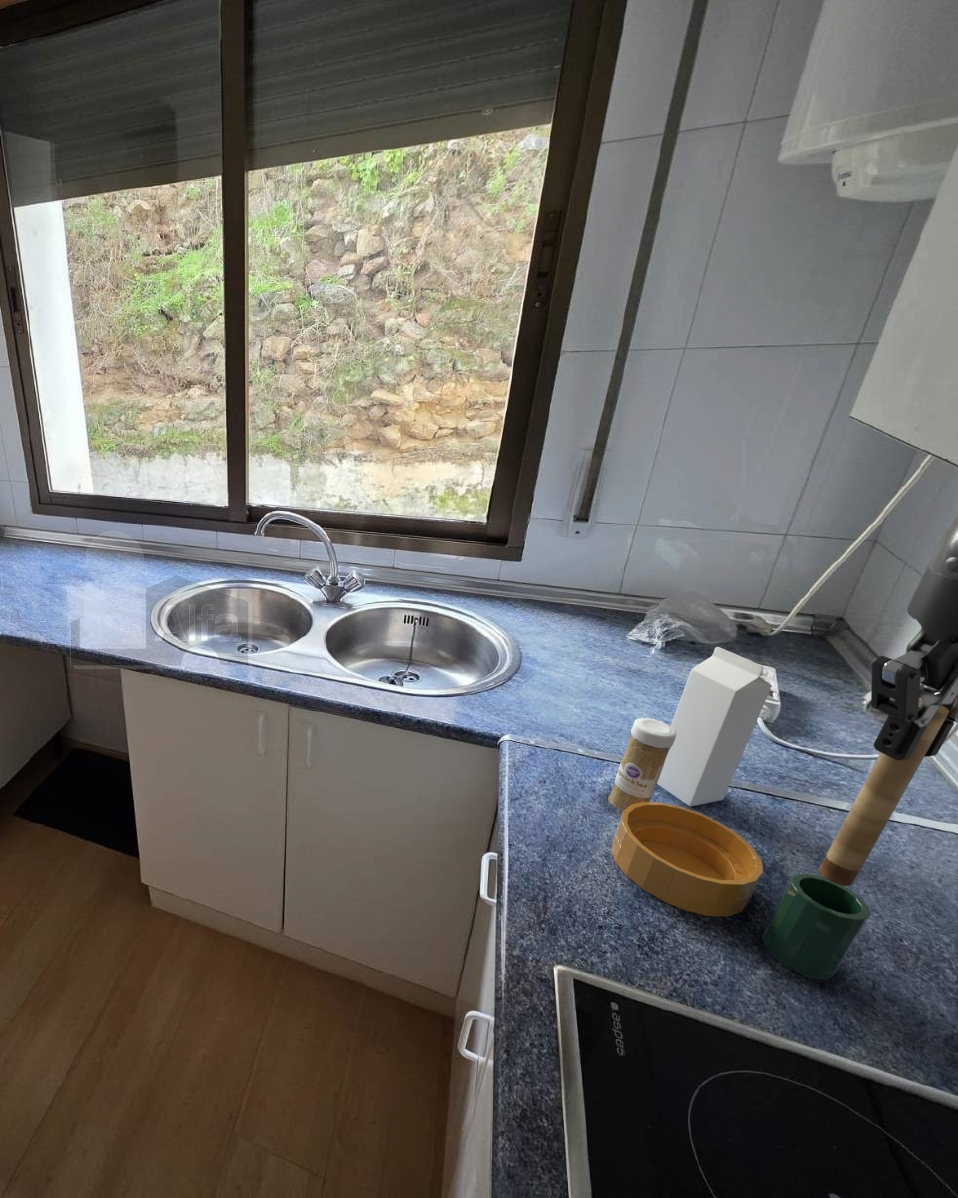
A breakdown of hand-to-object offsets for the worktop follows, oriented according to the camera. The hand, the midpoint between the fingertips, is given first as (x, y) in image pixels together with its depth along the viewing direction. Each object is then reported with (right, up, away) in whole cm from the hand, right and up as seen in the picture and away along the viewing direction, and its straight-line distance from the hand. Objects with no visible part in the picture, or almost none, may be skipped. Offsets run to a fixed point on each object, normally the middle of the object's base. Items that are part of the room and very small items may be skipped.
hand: (903, 752), depth 57 cm
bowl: (-4, -20, +20) cm, 29 cm away
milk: (+9, -14, +34) cm, 38 cm away
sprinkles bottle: (-2, -16, +31) cm, 35 cm away
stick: (0, -14, +6) cm, 15 cm away
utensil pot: (0, -24, +10) cm, 26 cm away
